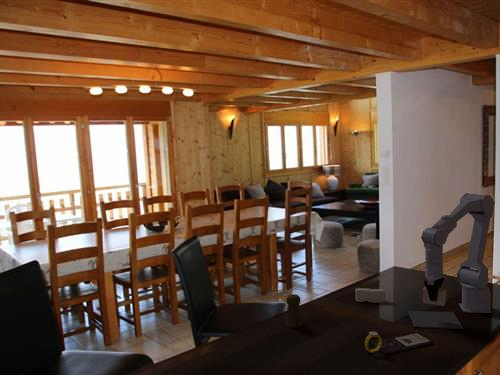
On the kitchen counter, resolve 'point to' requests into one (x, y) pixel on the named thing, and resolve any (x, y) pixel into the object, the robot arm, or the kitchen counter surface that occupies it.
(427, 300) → the card box
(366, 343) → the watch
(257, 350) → the kitchen counter surface
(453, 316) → the rubber mat
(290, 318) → the cork
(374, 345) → the chocolate bar
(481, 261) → the robot arm
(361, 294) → the napkin holder
